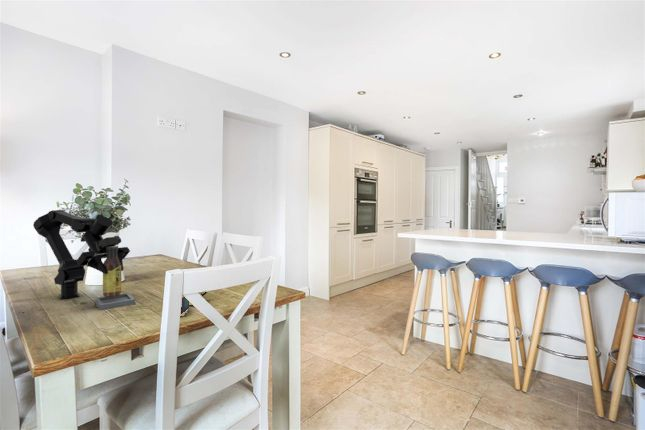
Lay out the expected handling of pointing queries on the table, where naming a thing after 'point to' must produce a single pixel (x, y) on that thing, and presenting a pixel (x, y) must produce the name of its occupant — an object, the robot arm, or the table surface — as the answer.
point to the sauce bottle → (112, 273)
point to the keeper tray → (114, 301)
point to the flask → (184, 305)
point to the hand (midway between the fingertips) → (115, 271)
